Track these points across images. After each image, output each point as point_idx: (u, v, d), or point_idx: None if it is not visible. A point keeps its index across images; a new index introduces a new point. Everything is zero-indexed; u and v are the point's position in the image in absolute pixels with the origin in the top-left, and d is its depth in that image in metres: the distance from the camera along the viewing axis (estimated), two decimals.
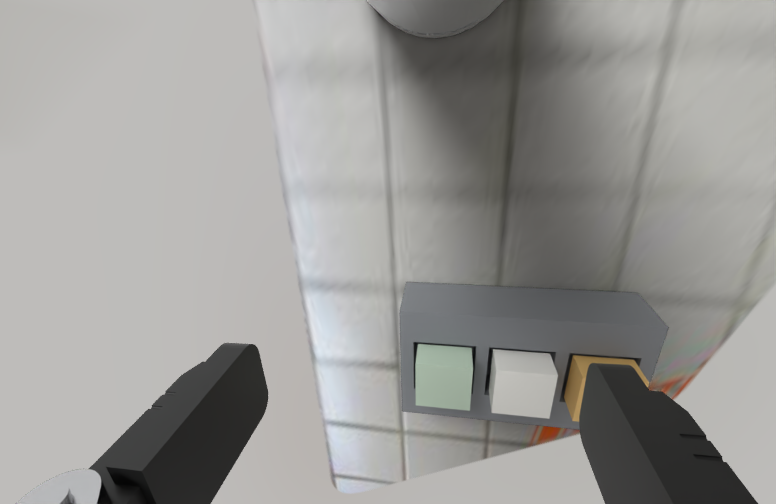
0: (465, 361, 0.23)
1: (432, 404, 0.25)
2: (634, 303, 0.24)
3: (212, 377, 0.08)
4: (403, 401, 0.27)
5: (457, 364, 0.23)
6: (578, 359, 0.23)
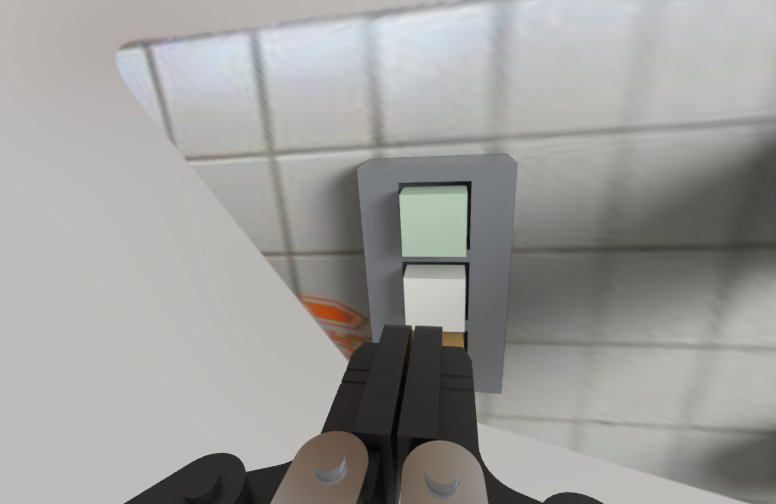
0: None
1: (404, 215, 0.20)
2: None
3: (396, 354, 0.08)
4: (373, 170, 0.21)
5: None
6: None
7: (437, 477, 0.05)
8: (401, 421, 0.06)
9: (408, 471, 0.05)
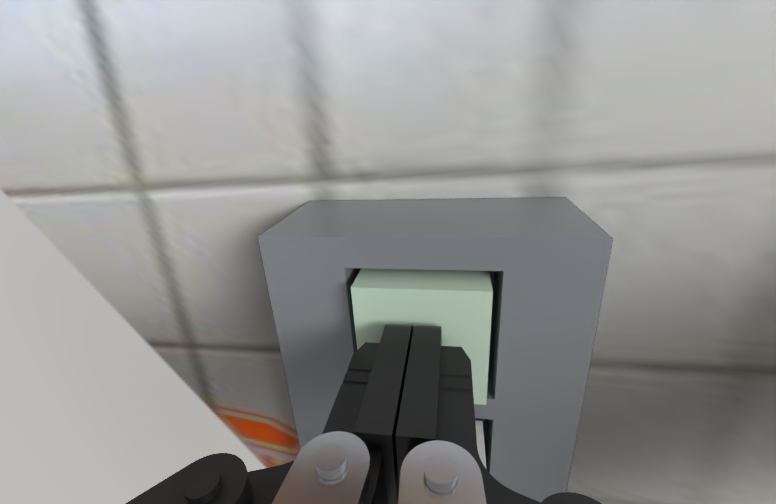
0: None
1: (363, 325, 0.10)
2: None
3: (397, 354, 0.08)
4: (293, 241, 0.10)
5: (486, 371, 0.10)
6: None
7: (435, 477, 0.05)
8: (400, 421, 0.06)
9: (407, 472, 0.05)
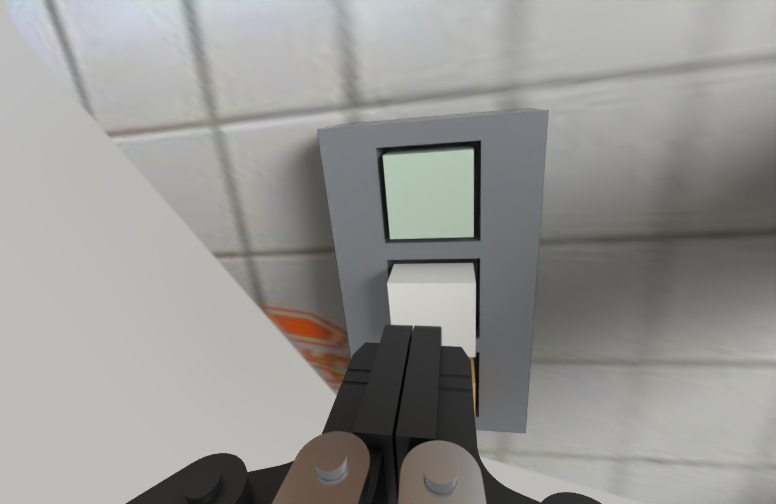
0: None
1: (391, 183, 0.15)
2: None
3: (397, 354, 0.08)
4: (341, 130, 0.15)
5: (473, 213, 0.15)
6: None
7: (435, 477, 0.05)
8: (400, 421, 0.06)
9: (407, 471, 0.05)
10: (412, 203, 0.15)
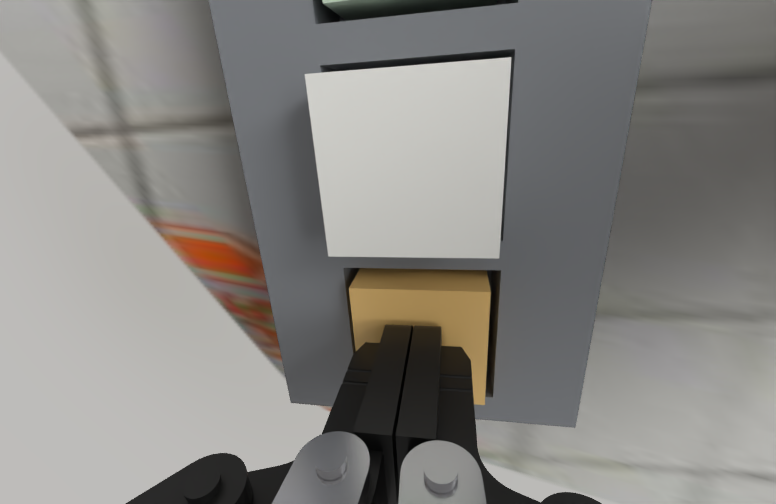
0: None
1: None
2: None
3: (397, 354, 0.08)
4: None
5: None
6: None
7: (435, 477, 0.05)
8: (400, 421, 0.06)
9: (408, 472, 0.05)
10: None
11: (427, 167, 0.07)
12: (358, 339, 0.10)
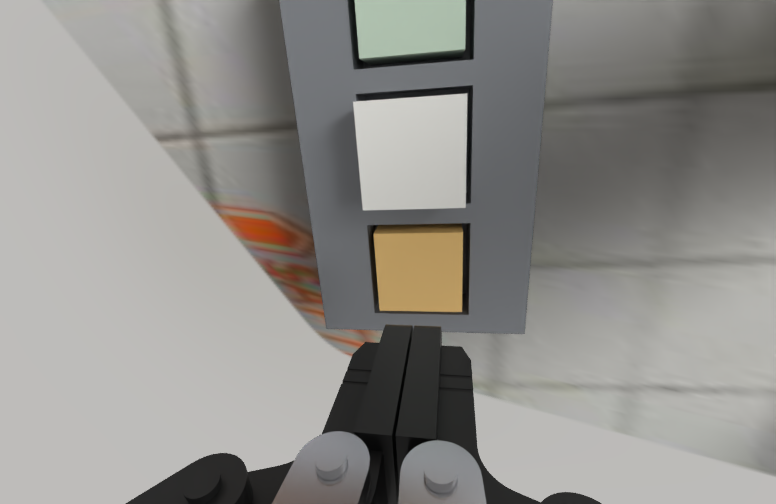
0: None
1: None
2: None
3: (397, 354, 0.08)
4: None
5: (465, 17, 0.12)
6: None
7: (435, 477, 0.05)
8: (400, 421, 0.06)
9: (407, 472, 0.05)
10: (387, 1, 0.12)
11: (422, 154, 0.12)
12: (379, 269, 0.15)
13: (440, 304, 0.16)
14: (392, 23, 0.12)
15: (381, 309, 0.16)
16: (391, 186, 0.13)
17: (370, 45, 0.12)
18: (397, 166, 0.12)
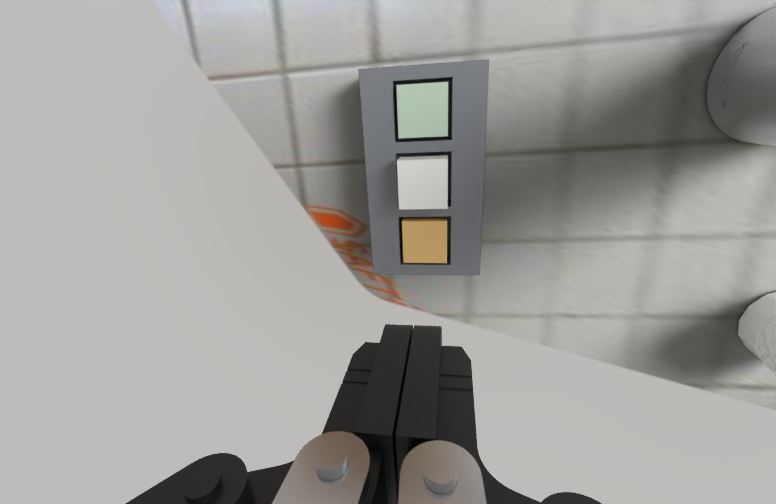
0: None
1: (400, 102, 0.26)
2: None
3: (397, 354, 0.08)
4: (372, 70, 0.26)
5: (447, 122, 0.26)
6: None
7: (435, 477, 0.05)
8: (400, 421, 0.06)
9: (407, 471, 0.05)
10: (412, 115, 0.26)
11: (428, 184, 0.26)
12: (404, 240, 0.30)
13: (435, 258, 0.30)
14: (414, 124, 0.26)
15: (404, 262, 0.31)
16: (413, 198, 0.27)
17: (404, 132, 0.27)
18: (416, 189, 0.27)
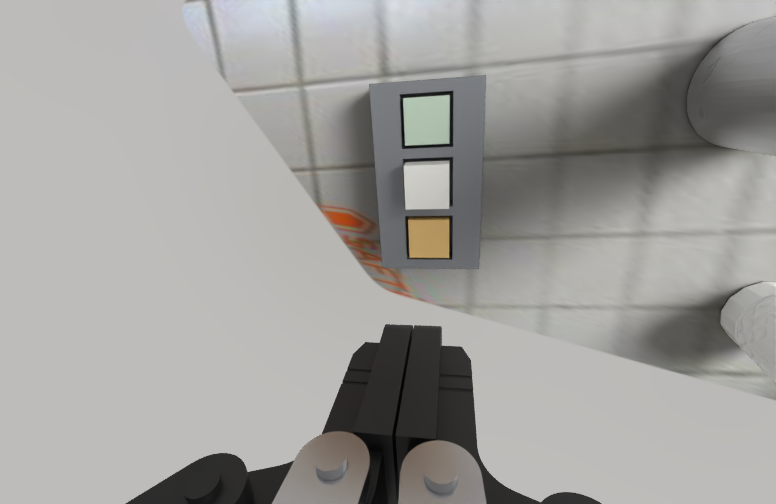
0: (449, 137, 0.30)
1: (406, 113, 0.29)
2: None
3: (397, 354, 0.08)
4: (381, 84, 0.29)
5: (449, 130, 0.29)
6: None
7: (435, 477, 0.05)
8: (400, 421, 0.06)
9: (407, 472, 0.05)
10: (417, 124, 0.29)
11: (431, 186, 0.29)
12: (410, 237, 0.33)
13: (438, 254, 0.33)
14: (419, 132, 0.29)
15: (410, 256, 0.34)
16: (418, 199, 0.30)
17: (410, 140, 0.30)
18: (420, 191, 0.30)
